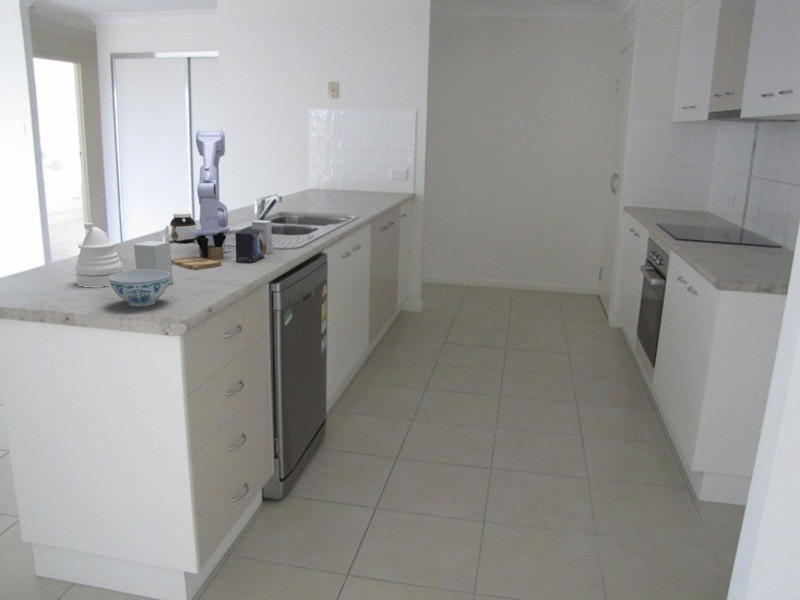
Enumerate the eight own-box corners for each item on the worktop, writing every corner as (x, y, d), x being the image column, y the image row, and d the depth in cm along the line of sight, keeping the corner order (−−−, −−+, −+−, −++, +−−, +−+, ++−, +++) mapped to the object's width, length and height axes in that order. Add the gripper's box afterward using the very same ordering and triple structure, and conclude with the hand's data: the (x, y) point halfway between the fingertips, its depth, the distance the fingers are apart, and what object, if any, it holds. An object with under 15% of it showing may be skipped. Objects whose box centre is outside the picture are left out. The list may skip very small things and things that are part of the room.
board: (169, 263, 227) (168, 259, 227) (195, 259, 234) (195, 255, 234) (194, 270, 217) (194, 266, 216) (220, 265, 224) (220, 262, 223)
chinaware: (129, 295, 184) (126, 268, 182) (181, 297, 183) (179, 270, 181) (100, 309, 170) (97, 280, 168) (156, 312, 168) (154, 282, 166)
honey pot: (94, 289, 190) (87, 227, 185) (68, 283, 196) (60, 223, 192) (133, 281, 200) (127, 222, 196) (106, 276, 207) (100, 218, 202)
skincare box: (252, 253, 246) (251, 221, 243) (258, 251, 250) (256, 219, 247) (267, 254, 244) (266, 222, 241) (272, 252, 248) (271, 220, 245)
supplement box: (174, 283, 199) (171, 241, 195) (157, 288, 192) (154, 245, 189) (153, 281, 201) (150, 240, 198) (136, 286, 194) (133, 243, 191)
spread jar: (200, 241, 268) (198, 213, 265) (177, 245, 259) (175, 216, 256) (180, 238, 274) (178, 210, 271) (157, 242, 265) (155, 213, 262)
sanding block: (199, 259, 234) (199, 246, 233) (210, 257, 238) (210, 245, 236) (212, 262, 229) (211, 249, 228) (223, 260, 232) (222, 247, 231)
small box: (253, 263, 228) (251, 233, 226) (235, 262, 230) (234, 232, 227) (265, 257, 238) (264, 228, 236) (248, 256, 240) (246, 228, 237)
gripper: (196, 220, 222) (199, 260, 225) (233, 216, 232) (235, 254, 236) (185, 218, 226) (188, 257, 230) (222, 214, 237) (224, 251, 240)
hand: (211, 255), depth 233 cm, fingers closed on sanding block, 4 cm apart
